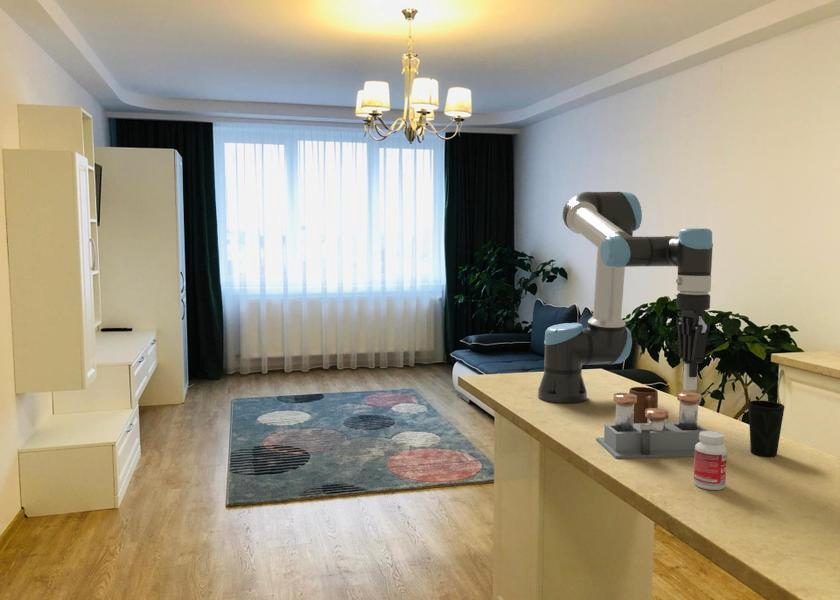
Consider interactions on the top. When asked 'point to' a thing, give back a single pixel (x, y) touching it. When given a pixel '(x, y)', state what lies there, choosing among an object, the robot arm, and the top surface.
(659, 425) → the knob mid
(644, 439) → the pot post
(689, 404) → the knob
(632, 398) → the knob
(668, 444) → the mount
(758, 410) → the cup
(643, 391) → the mug
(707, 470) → the pill bottle
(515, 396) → the top surface
